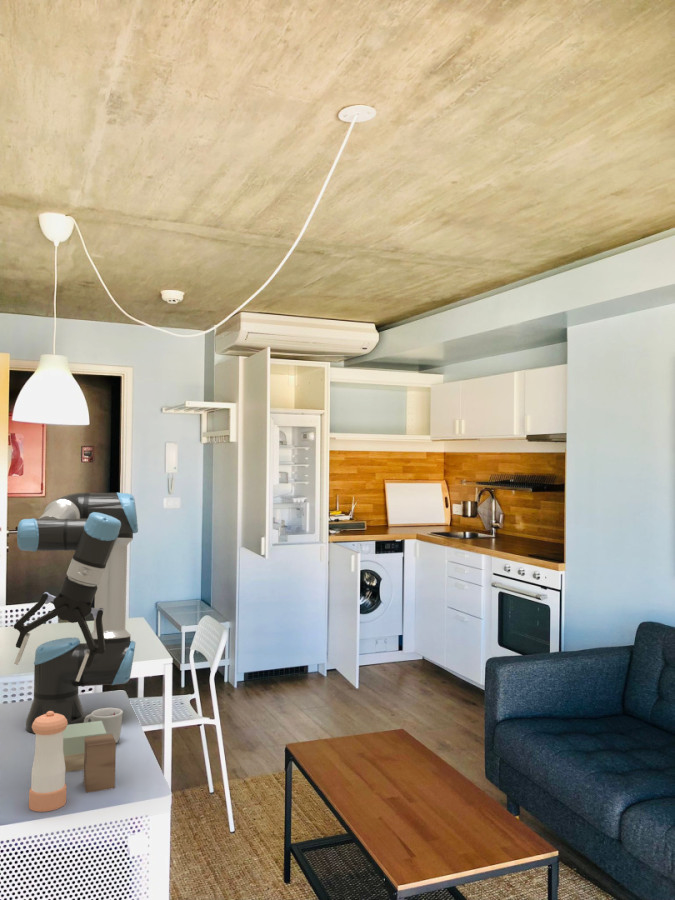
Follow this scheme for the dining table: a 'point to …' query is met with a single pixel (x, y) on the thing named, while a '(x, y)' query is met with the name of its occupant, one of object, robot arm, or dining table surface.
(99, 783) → the walnut block
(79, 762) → the tower bottom block
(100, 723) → the tower top block
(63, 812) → the dining table surface
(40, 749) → the pepper shaker
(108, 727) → the cup
